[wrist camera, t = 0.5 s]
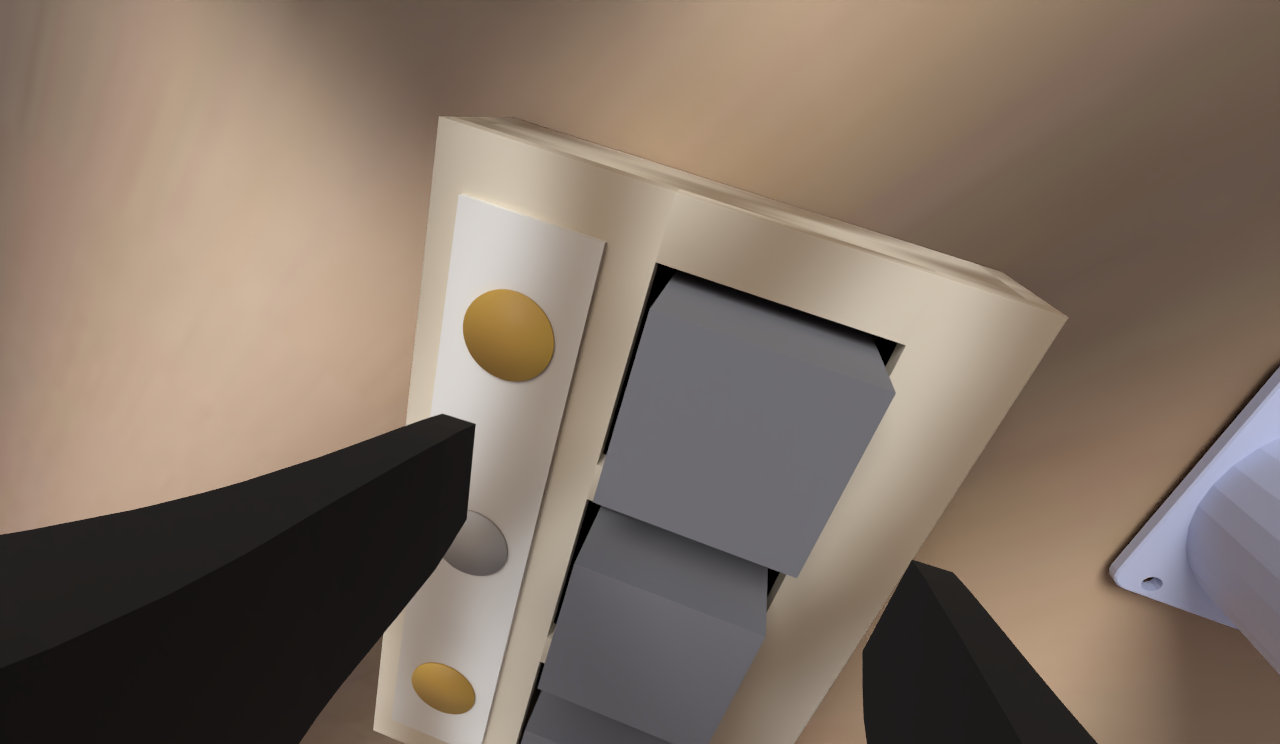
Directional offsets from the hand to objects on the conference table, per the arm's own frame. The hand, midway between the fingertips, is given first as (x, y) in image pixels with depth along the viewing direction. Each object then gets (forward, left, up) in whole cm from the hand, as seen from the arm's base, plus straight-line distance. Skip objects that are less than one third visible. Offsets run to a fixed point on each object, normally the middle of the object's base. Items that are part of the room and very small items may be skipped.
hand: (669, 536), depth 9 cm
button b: (-1, +7, -7) cm, 10 cm away
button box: (+1, +7, -9) cm, 12 cm away
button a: (-1, 0, -7) cm, 7 cm away
